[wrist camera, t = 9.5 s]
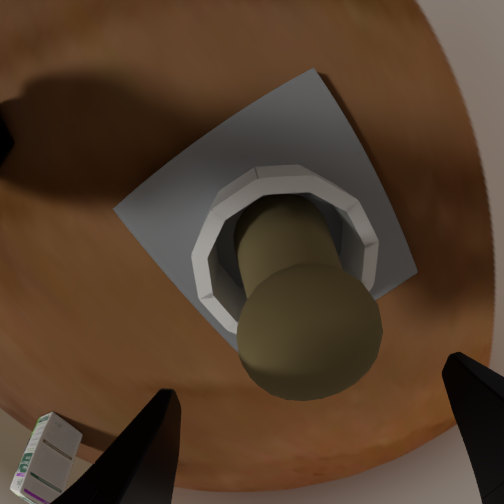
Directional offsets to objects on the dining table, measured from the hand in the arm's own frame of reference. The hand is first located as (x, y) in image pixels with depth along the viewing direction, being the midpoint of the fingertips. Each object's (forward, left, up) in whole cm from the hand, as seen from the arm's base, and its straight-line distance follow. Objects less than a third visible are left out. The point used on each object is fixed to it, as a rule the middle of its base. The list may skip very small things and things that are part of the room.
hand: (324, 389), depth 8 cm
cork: (0, 0, -12) cm, 12 cm away
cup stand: (0, 0, -13) cm, 13 cm away
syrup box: (-40, -7, -13) cm, 43 cm away
